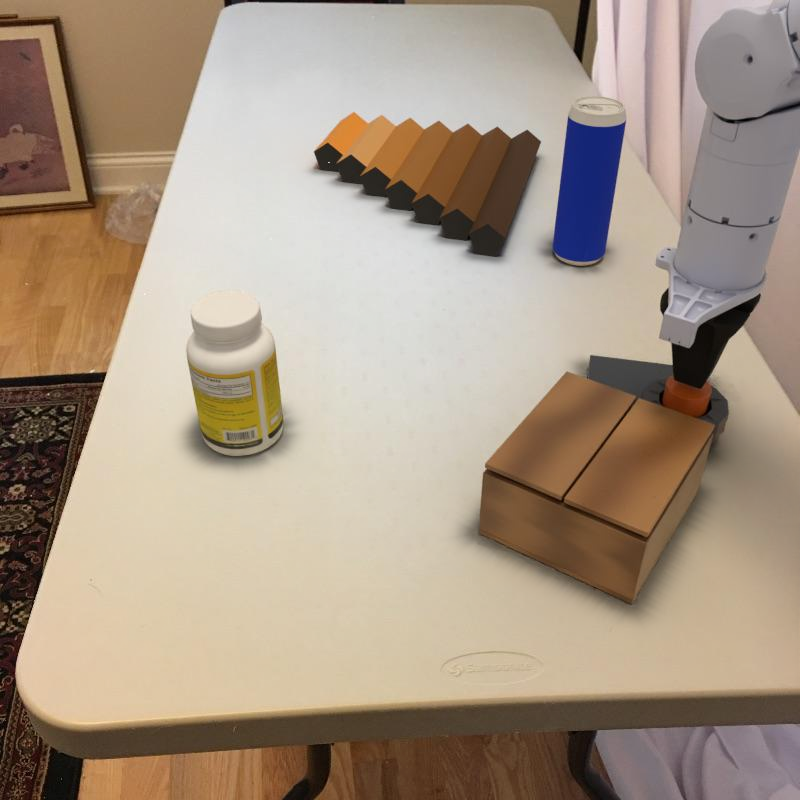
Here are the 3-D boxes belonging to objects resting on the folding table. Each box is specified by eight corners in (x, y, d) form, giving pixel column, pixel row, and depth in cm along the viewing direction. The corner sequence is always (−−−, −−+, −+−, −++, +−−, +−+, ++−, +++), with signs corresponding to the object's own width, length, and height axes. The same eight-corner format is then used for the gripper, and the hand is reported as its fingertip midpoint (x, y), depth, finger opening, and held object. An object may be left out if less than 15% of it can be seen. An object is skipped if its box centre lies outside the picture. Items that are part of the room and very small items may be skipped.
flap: (713, 429, 60) (715, 424, 59) (647, 537, 52) (648, 532, 52) (638, 402, 62) (638, 397, 62) (563, 502, 54) (564, 497, 54)
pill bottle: (252, 396, 72) (237, 274, 65) (300, 433, 68) (290, 308, 61) (185, 430, 68) (161, 305, 62) (231, 471, 65) (212, 343, 58)
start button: (705, 394, 68) (710, 375, 67) (707, 421, 65) (713, 402, 64) (661, 389, 68) (666, 370, 67) (662, 415, 66) (666, 396, 65)
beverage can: (604, 244, 91) (627, 97, 82) (604, 270, 87) (628, 117, 78) (552, 240, 92) (570, 93, 83) (550, 265, 88) (568, 113, 79)
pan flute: (503, 257, 89) (539, 158, 108) (506, 226, 87) (542, 131, 106) (267, 226, 94) (341, 137, 113) (264, 195, 92) (340, 110, 111)
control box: (714, 383, 73) (722, 352, 71) (721, 464, 65) (731, 432, 64) (588, 367, 75) (593, 337, 73) (581, 445, 67) (586, 413, 65)
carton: (697, 493, 63) (716, 424, 59) (631, 604, 55) (649, 533, 52) (556, 437, 68) (566, 370, 64) (477, 532, 60) (483, 463, 56)
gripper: (709, 153, 63) (672, 317, 72) (628, 235, 54) (597, 412, 62) (813, 177, 60) (762, 345, 69) (747, 268, 51) (697, 450, 59)
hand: (690, 380), depth 65 cm, fingers closed
